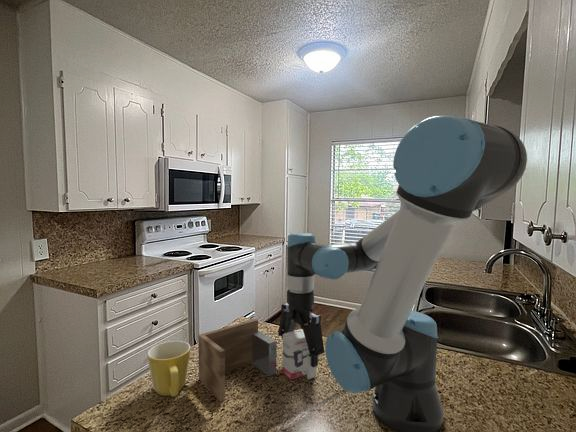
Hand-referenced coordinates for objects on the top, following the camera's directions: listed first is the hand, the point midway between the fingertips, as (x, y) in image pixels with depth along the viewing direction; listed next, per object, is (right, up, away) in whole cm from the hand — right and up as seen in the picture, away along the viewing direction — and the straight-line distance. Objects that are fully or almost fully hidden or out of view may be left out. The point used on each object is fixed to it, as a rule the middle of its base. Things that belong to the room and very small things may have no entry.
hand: (299, 369), depth 88 cm
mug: (-33, -2, -9) cm, 34 cm away
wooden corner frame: (-16, -1, -3) cm, 16 cm away
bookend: (-10, 0, +1) cm, 10 cm away
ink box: (0, -2, 0) cm, 2 cm away
